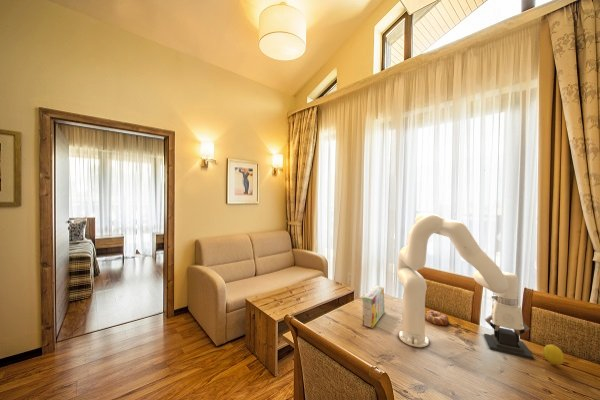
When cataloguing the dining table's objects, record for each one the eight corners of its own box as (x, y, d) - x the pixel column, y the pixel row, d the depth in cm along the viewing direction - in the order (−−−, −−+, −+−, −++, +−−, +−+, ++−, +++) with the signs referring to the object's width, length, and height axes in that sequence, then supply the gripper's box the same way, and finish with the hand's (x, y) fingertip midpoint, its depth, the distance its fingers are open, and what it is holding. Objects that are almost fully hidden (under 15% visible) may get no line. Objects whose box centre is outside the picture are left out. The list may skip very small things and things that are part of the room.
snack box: (375, 310, 139) (375, 284, 139) (384, 312, 136) (384, 286, 136) (362, 325, 122) (362, 296, 122) (372, 328, 119) (372, 299, 119)
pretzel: (419, 317, 131) (419, 310, 131) (433, 314, 134) (433, 307, 134) (438, 328, 119) (438, 320, 119) (453, 324, 123) (453, 317, 123)
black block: (516, 346, 101) (516, 336, 101) (499, 343, 103) (500, 332, 103) (512, 340, 106) (512, 330, 106) (496, 336, 108) (496, 326, 108)
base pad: (533, 359, 96) (533, 354, 96) (490, 349, 102) (490, 344, 102) (522, 343, 106) (522, 339, 106) (484, 335, 113) (484, 330, 113)
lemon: (566, 371, 89) (566, 350, 89) (546, 366, 92) (546, 346, 92) (560, 363, 94) (560, 343, 94) (541, 358, 97) (541, 339, 97)
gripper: (484, 299, 105) (484, 339, 105) (536, 308, 97) (535, 351, 97) (480, 293, 112) (480, 331, 112) (529, 301, 104) (528, 342, 104)
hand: (506, 340), depth 104 cm, fingers closed on black block, 5 cm apart
